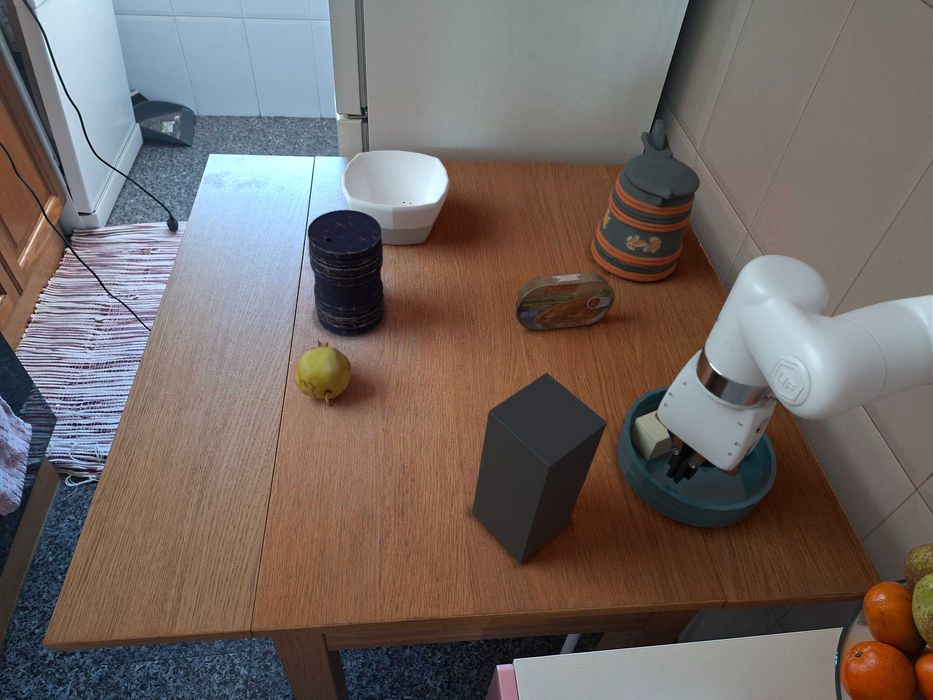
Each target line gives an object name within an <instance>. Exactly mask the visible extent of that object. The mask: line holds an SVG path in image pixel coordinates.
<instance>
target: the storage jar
mask: <svg viewBox="0 0 933 700" xmlns="http://www.w3.org/2000/svg"><path fill="white" fill-rule="evenodd" d="M381 237H382V230H381V226H380V224H379V223H378V221H377V220H376V219H375V218H373V217H372V216H370V215H368V214H366V213H363V212H359V211H354V210H351V209H337V210H332V211H328V212H325V213H323V214H321V215H319V216H317V217H315V218H314V219H313V220H312V221H311V222H310V223H309V225H308V227H307V240H308V256H309V264H310V268H311V271H312V272H313V275H314V276H313V277H314V285H313V297H314V305H315V308H316V311H317V320H318V323H319V325H320V326H321V327H322V328H323V329H324V330H325V331H327V332H329V333H331V334H333V335H335V336H339V337H345V338H346V337H347V338H351V337H353V338H354V337H359V336H363V335H366V334H369V333H370V332H372V331H374V330H375V329H377V328H378V326H380V324H381V323H382V321H383V319H384V304H385V293H384V283H383V280H382V268H383V263H384V254H383V253H384V245H383V243H382V238H381Z"/></svg>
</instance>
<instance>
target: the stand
mask: <svg viewBox="0 0 933 700" xmlns="http://www.w3.org/2000/svg"><path fill="white" fill-rule="evenodd" d="M485 425H486V426H485V432H484V438H483V444H482V449H481V456H480V462H479V469H478V474H477V480H476V487H475V494H474V500H473V506H472V511H471V514H472V515H473V517H475V519H476V520H478V522H480V523H481V525H482V526H483V527H484V528H485V529H486V530H487V531H488V532H489V533H490V534H491V535H492V536H493V538H494V539H496V540H497V541H498V542H499V544H500V545H501V546H502V547H503V548H504V549H505V550H506V551H507V552H508V553H509V554H510V555H511V556H512V557H513V558H514V559H515V561H517V563H518V564H520V565H522V563H524V562H525V561H526V560H527V559H529V558H530V557H531V556H532V555H534V553H535V552H537V551H538V550H539V549H540V548H541V547H543V546H544V545H545V544H546V543H548V542H549V541H550V540H551V539H553V537H554V536H555V535H557V534H558V533H559V532H560V531H561V530H562V529H564V528H565V527H566V526H567V525H568V524H569V523H570V522H571V518H572V516H573V513H574V511H575V508H576V506H577V504H578V500H579V498H580V495H581V492H582V490H583V487H584V485H585V482H586V480H587V477H588V474H589V471H590V470H591V466H592V463H593V461H594V458H595V456H596V453H597V450H598V448H599V446H600V443H601V440H602V438H603V436H604V433H605V430H606V427H607V425H608V421H606V420H605V419H604V418H603V417H601V416H600V414H598V413H597V412H595V411H594V410H593V409H592V408H591V407H589V406H588V405H587V404H586V403H584V402H583V401H582V400H581V399H580V398H578V397H577V396H576V395H575V394H573V393H572V392H571V391H570V390H569V389H567V388H566V387H565V386H563V385H562V384H561V383H560V382H559V381H558V380H557V379H555V378H554V377H553V376H552V375H550V374H549V373H548V372H545V373H544V374H542V375H540V376H539V377H538V378H536V379H534V380H533V381H531V382H530V383H528V384H527V385H526V386H524V387H522V388H521V389H519V390H518V391H516V392H514V393H513V394H512V395H510V396H509V397H507V398H506V399H505V400H503V401H501V402H500V403H499V404H497V405H495V406H494V407H493V408H491V409H490V410H488V413H487V420H486V424H485Z"/></svg>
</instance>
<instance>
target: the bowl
mask: <svg viewBox="0 0 933 700" xmlns="http://www.w3.org/2000/svg"><path fill="white" fill-rule="evenodd" d="M340 178H341V192H342V193H343V195H344V198H345V200H346V202H347V204H348V206H349V208H350V209H349V210H354V211H359V212H363V213H366V214H368V215H370V216H372V217H373V218H375V219H376V220H377V221H378V223H379V224H380V226H381V230H382V237H381V238H382V244H384V245H385V244H386V245H392V246H398V245H399V246H401V245H414V244H422V243H424V242H426V241H427V238H428V237H429V235H430V233H431V231H432V229H433V226H434V225H435V222H436V220H437V218H438V217H439V214H440V212H441V210H442V207H443V205H444V203H445V201H446V199H447V197H448V193H449V190H450V187H451V182H450V178H449V175H448V171H447V169H446V167H445V166H444V164H443V163H442V161H441V160H440V158H439V157H435V156H432V155H427V154H424V153H421V152H414V151H408V150H407V151H406V150H405V151H404V150H371V151H365V152H359V153H357V154H356V155H355V156H354V157H353V158H352V159H351V160H350V161H349V162H348V163H347V165H346V166H345V169H344V170H343V172H342V175H341V177H340ZM403 202H405V203H403ZM410 203H411V204H410Z"/></svg>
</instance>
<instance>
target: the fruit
mask: <svg viewBox="0 0 933 700" xmlns="http://www.w3.org/2000/svg"><path fill="white" fill-rule="evenodd" d="M351 369H352V367H351V362H350V360H349V359H348V357H347V356H346V355H345V354H344V353H343V352H342V351H340V350H339V349H337V348H336V347H332V346H329V340H326V342H325V343H324V344H323V342H321V341H320V340H319V339H317V346H316V347H315V346H314V347H310V349H308V350H307V351H305V352H304V353H303V354H302V355H301V356H300V358H299V359H298V361H297V363H296V365H295V369H294V374H293V380H294V384H295V386H296V387H297V388H298V390H299V391H300V392H301V393H302V394H304V396H307V397H310V398H314V399H320V400H324V401H325V403H326V404H327V406H328V407H329V408H331V407H334V404H333V403H331V401H330V400H331V399H334V398H336V397H338V396H339V395H341V394H342V393H343V392H344V391H345V390H346V389H347V387H348V385H349V383H350V380H351V373H352V372H351Z"/></svg>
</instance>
